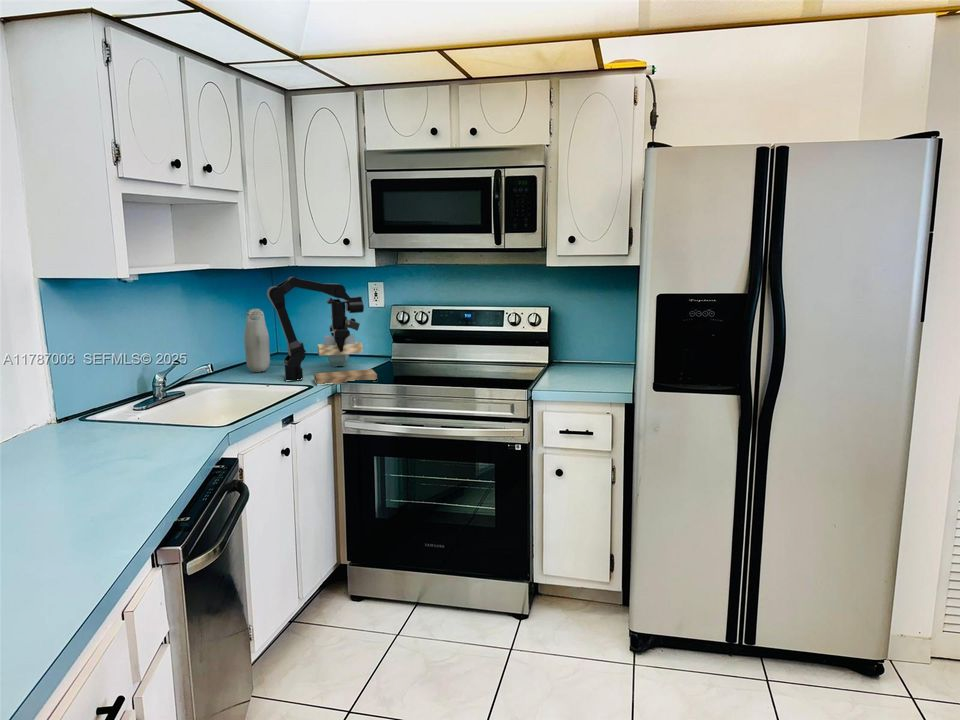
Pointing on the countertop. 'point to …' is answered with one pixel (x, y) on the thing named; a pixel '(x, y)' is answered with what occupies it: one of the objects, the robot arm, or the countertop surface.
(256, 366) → the grey bottle
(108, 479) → the countertop surface
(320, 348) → the light wooden block
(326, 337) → the crate
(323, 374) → the dock
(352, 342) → the crate
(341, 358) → the flower pot
